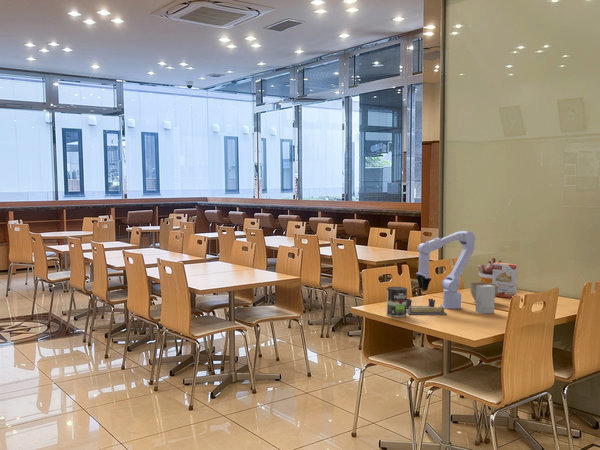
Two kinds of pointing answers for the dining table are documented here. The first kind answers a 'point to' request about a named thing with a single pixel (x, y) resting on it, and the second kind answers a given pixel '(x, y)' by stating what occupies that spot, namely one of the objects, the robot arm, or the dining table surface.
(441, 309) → the rail
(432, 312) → the mat
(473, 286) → the planter bowl
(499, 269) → the cracker box
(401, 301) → the coffee can
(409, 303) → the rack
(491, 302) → the skincare box
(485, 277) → the bucket of meat
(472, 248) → the robot arm
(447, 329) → the dining table surface
